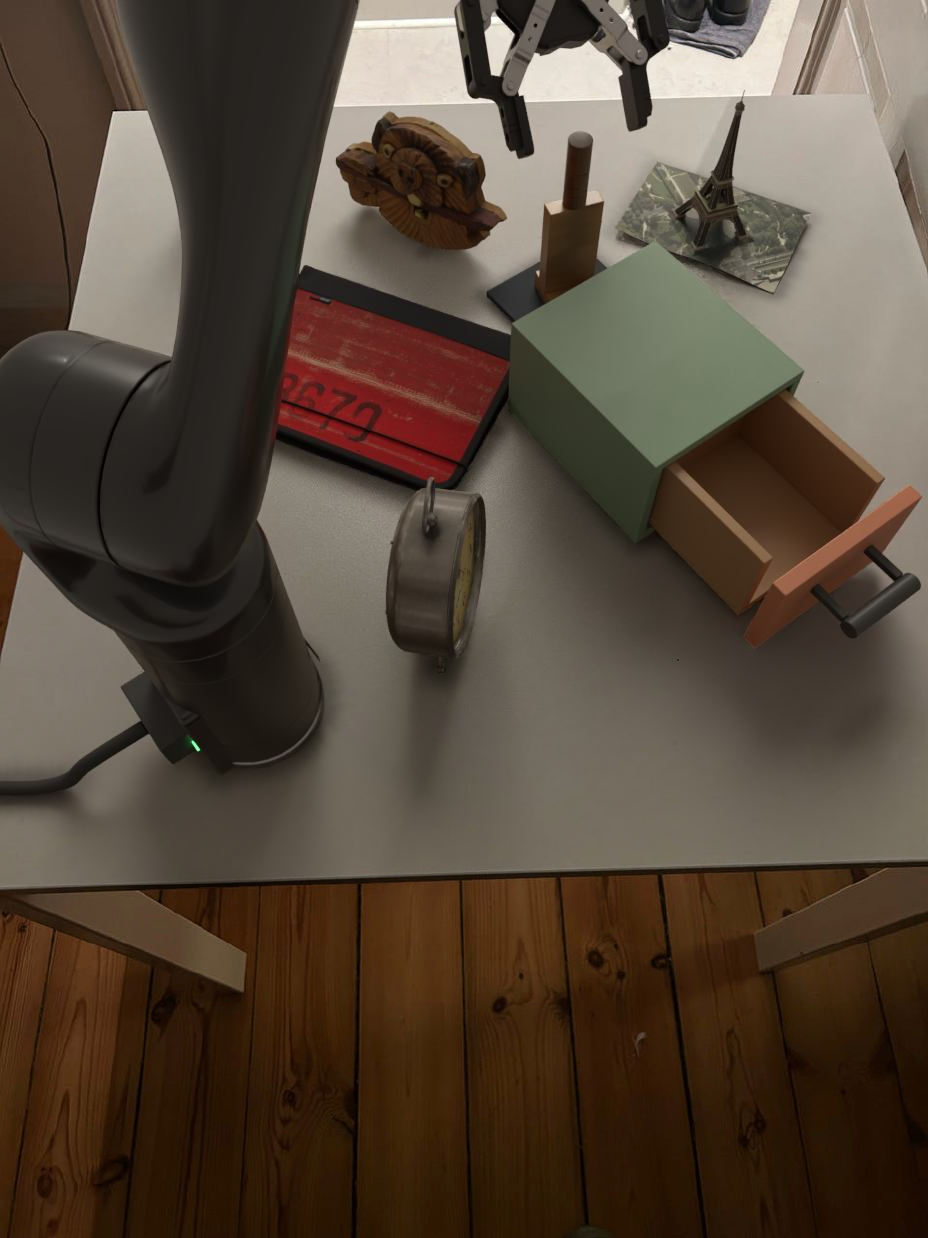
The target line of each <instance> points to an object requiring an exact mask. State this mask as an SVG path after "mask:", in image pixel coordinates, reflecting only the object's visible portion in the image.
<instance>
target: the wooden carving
mask: <svg viewBox="0 0 928 1238" xmlns="http://www.w3.org/2000/svg"><path fill="white" fill-rule="evenodd" d="M335 165H336V167H337V168H338V169H339V173H340V176H341V178H342V180H343V181H344V182H345V183H346V184H347V187H348V191H349V195H350V198H351V199H352V201H354V202H355V203H357V204H359V205H361V206H363V207H372V208H378V212H379V215H380V216H381V217H382V218H383V219H384V220H385V221H386V222H387V223H388V224H389V225H390V226H391V227H392V228H394V229H395V230H397V231H398V232H400V233H401V234H403V235H404V236H405V237H407V238H408V239H410V240H413V241H414V242H417V243H419V244H422V245H424V246H427V247H431V248H435V249H436V250H444V251H463V250H470V249H473V248H476V247H477V246H478V245H480V243H482V242H483V241H485V240H486V239H487V238H488V237H490V236H491V231H492V230H493V229H494V228H495V227H496V226H497V225H498V224H499V223H503V222H505V221H506V220H507V219H508V217H507V214H506V212H505V211H504V210H503V208H502V207H501V206H498V204H497V205H496V204H494V203H492V202H489V201H487V200H486V198H485V194H484V191H483V188H482V187H483V183H484V182H485V180H486V176H487V173H486V172H487V171H486V167H485V162H484V159H483V157H482V155H481V154H480V153H477V152H472V150H470V148H469V147H468V146H467V145H466V144H465V143H464V142H463V141H462V140H461V139H460V138H458V137H457V136H456V135H455V134H452V133H451V132H450V131H449V130H447V128H445V127H444V126H443V125H441V124H439V123H437V122H435V121H432V120H429V119H426V118H424V117H422V116H421V117H420V116H401V117H399V116H398V115H397V114H396V113H395V112H393V111H390V110H389V111H387V112H386V113H385V114H383V115H382V117H381V118H380V119H378V120H377V121H376V123H375V125H374V130H373V131H372V135H371V141H361V142H358V143H357V142H356V143H355V142H354V143H351V144H350V145H349V146H347V148H346V149H345V150H344V151H343V152H341V153H340V154H339V155H337V156H336V157H335Z"/></svg>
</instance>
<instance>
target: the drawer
mask: <svg viewBox="0 0 928 1238" xmlns="http://www.w3.org/2000/svg"><path fill="white" fill-rule="evenodd" d="M885 479H886V477H885V476H884V475H882V473H881V472H879V470H877V468H875V467H874V466H873V465H871V464H870V463H869V462H868V461H867V460H866V459H865V458H864V457H863V456H862V455H860V454H859V453H858V452H857V451H856V450H855V449H853V447H851V446H850V445H849V444H848V443H847V442H846V441H844V439H843V438H842V437H840V436H839V435H838V434H837V433H836V432H835V431H833V430H832V429H831V428H830V427H829V426H828V425H826V423H824V422H823V421H822V420H821V419H820V418H819V417H817V416H816V415H815V414H814V413H813V412H812V411H811V410H810V409H809V408H808V407H806V405H804V404H803V403H802V402H800V401H799V399H798V398H796V397H795V395H794V396H793V395H792V394H790V393H789V392H788V391H787V390H786V389H784V390H782V391H781V392H779V393H778V394H776V395H775V396H773V397H772V398H770V399H769V400H767V401H766V402H764V403H763V404H761V405H759V406H758V407H756V408H755V409H753V410H752V411H750V412H749V413H747V414H746V415H744V416H743V417H741V418H740V419H738V420H737V421H735V422H733V423H732V424H730V425H729V426H727V427H726V428H724V429H723V430H721V431H720V432H718V433H717V434H715V435H714V436H712V437H711V438H709V439H708V440H706V441H704V442H703V443H701V444H700V445H698V446H697V447H695V448H694V449H692V450H691V451H689V452H688V453H686V454H685V455H683V456H682V457H680V458H678V459H677V460H675V461H674V462H672V463H671V464H669V465H668V466H666V467H665V468H663V469H662V473H661V477H660V480H659V484H658V487H657V491H656V494H655V498H654V501H653V505H652V509H651V512H650V516H649V519H648V523H649V524H650V525H651V526H652V527H653V528H654V529H655V530H654V531H656V532H657V533H658V534H659V535H660V536H661V537H662V539H664V541H665V542H667V544H668V545H669V546H670V547H671V548H672V549H673V550H674V551H675V552H676V553H677V554H678V555H679V556H680V557H681V558H682V559H683V560H684V561H685V562H686V563H687V564H688V565H689V567H691V569H693V570H694V572H695V573H696V574H697V575H698V576H699V577H700V578H701V579H702V580H703V581H704V583H706V584H707V585H708V586H709V587H710V588H711V590H713V591H714V592H715V594H717V596H718V597H720V598H721V599H722V600H723V602H725V604H727V606H728V607H729V608H730V609H731V610H732V611H733V612H734V613H735V614H736V615H737V616H740V615H741V614H743V613H744V612H746V610H748V609H749V608H751V607H752V606H754V605H755V604H756V603H758V602H759V601H760V600H762V601H761V603H760V605H759V607H758V609H757V611H756V612H755V615H754V616H753V618H752V619H751V622H750V623H749V625H748V628H747V629H746V631H745V633H744V634H743V638H744V640H746V642H747V643H749V644H750V646H751V647H752V648H754V649H757V648H758V647H760V646H761V645H762V644H764V643H765V642H766V641H768V640H769V639H770V638H772V637H773V636H775V635H776V634H777V633H779V632H780V631H781V630H783V629H784V628H785V627H786V626H788V625H789V624H791V623H792V622H793V621H795V620H796V619H798V618H799V617H800V616H802V615H803V614H804V613H805V612H807V611H808V610H809V609H811V608H812V607H814V606H815V605H817V604H818V603H820V604H821V605H822V606H823V607H824V608H825V609H827V611H828V612H829V613H830V614H832V615H833V617H835V618H836V620H838V621H839V622H840V623H839V628H840V630H841V632H842V633H843V634H844V635H845V636H846V637H847V638H848V639H851V640H855V639H857V638H858V637H860V636H861V635H863V634H864V633H865V632H866V631H868V630H869V629H870V628H872V627H873V626H874V625H876V624H877V623H878V622H879V621H881V620H882V619H883V618H885V617H886V616H887V615H889V614H890V613H891V612H893V611H894V610H895V609H896V608H898V607H899V606H900V605H902V604H903V603H905V602H906V601H907V600H908V599H909V598H911V597H912V596H914V595H915V594H916V593H917V592H919V591H920V590H921V589H922V583H921V581H920V579H919V578H918V577H917V576H916V575H915V574H914V573H911V572H905V573H904V572H903V571H902V570H901V569H900V568H899V567H897V566H896V565H895V564H894V563H893V562H892V561H891V560H890V559H889V558H888V557H887V556H886V555H885V554H884V551H885V550H886V549H887V547H888V546H889V544H890V543H891V542H892V541H893V539H894V538H895V536H896V535H897V533H898V532H899V530H900V529H901V528H902V526H903V525H904V524H905V522H906V521H907V520H908V518H909V516H910V515H911V513H912V512H914V510H915V508H916V507H917V505H918V504H919V502H920V501H921V500H922V499H923V495H922V494H920V492H918V491H917V490H916V489H915V488H914V487H913V486H912V485H910V484H908V485H907V486H905V487H903V488H902V489H901V490H899V491H898V492H896V494H895V493H894V495H893V496H891V497H890V498H888V499H886V501H884V502H883V503H881V504H880V505H879V506H877V507H875V508H874V509H873V510H871V511H870V512H868V513H867V514H866V515H865V516H864V517H862V516H863V514H864V512H865V511H866V510H867V508H868V506H869V505H870V504H871V502H872V500H873V499H874V497H875V495H876V493H878V491H879V489H880V487H881V486H882V484H883V483H884V481H885ZM872 563H874V564H875V565H876V566H877V567H878V568H879V569H880V570H881V571H882V572H883V573H884V574H886V576H888V577H889V578H890V579H891V580H892V581H893V582H891V583H890V584H889V585H887V586H886V587H885V588H884V589H882V590H881V591H880V592H878V593H876V595H874V596H873V597H871V598H870V599H869V600H868V601H865V603H863V604H862V605H861V606H860V607H858V608H857V609H856V610H854V611H853V612H851V613H850V612H848V610H846V609H845V607H843V606H842V604H840V603H839V602H838V601H837V600H836V598H834V597H833V596H832V594H831V593H832V592H834V591H835V590H837V589H838V588H840V587H841V586H842V585H844V584H845V583H846V582H847V581H849V580H850V579H851V578H853V577H854V576H856V575H857V574H858V573H860V572H861V571H863V570H864V569H865V568H866V567H868V566H869V565H871V564H872Z"/></svg>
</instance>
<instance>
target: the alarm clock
mask: <svg viewBox="0 0 928 1238" xmlns="http://www.w3.org/2000/svg"><path fill="white" fill-rule="evenodd" d="M486 540H487V512H486V503H485V500H484V498H483V496H482V495H481V494H480V493H479V492H467V491H460V490H454V489H453V490H445V489H437V488H435V479H434V477H430V478H429V479H428V482H427V487H426V488H423V489H421V490H419V491H416V492H414V493H413V494H412V496H410V497H409V499H408V500H407V502H406V503H405V504H404V507H403V509H402V510H401V513H400V515H399V518H398V521H397V524H396V528H395V532H394V534H393V539H392V540H391V541H390V546H391V547H390V553H389V559H388V567H387V575H386V585H385V586H386V587H385V615H386V623H387V624H386V625H387V628H388V633H389V635H390V637H391V639H392V641H393V643H394V644H395V645H396V647H398V648H399V649H400V650H401V651H403V652H406V653H411V654H418V655H423V656H424V655H425V656H430V657H436V661H437V664H438V665H437V666H436V667H435V670H436V672H437V674H444V673H445V672H446V667H445V664H446V661H447V659H450V660H457V659H459V658H460V657H461V656H462V655H463V653H464V652H465V650H466V647H467V645H468V643H469V639H470V637H471V634H472V630H473V626H474V623H475V618H476V613H477V608H478V604H479V599H480V594H481V587H482V586H481V584H482V580H483V570H484V561H485V554H486V543H487V541H486Z"/></svg>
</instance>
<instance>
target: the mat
mask: <svg viewBox="0 0 928 1238" xmlns="http://www.w3.org/2000/svg"><path fill="white" fill-rule="evenodd" d="M607 268H608V266H606V265H605V264H604V263H603V262H602V261H601V260H599V258H597V259H596V266H595V274H594V276H595V275H597V274H599V273H600V272H602V271H604V270H605V269H607ZM539 270H540V261H538V262H536V263H535V264H533V265H531V266H529V267H527V268H526V269H524V270H522V271H520V272H518V273H517V274H515V275H513V276H511V277H510V278H508V279H506V280H504V281H503V282H501V283H499V284H497V285H495V286H493V287H492V288H490V289H488V290H487V291H486V292H485V297H486V298H487V299H488V300H489V301H490V302H491V303H492V304H493V306H495V307H496V308H497V309H498V310H499V311H500V312H501V313H502V314H503V315H504V316H505V317H506V318H507V319H508V320H509V321H510V322H511V324H512V323H513V322H515V321H517V320H519V319H520V318H522V317H524V316H526V315H527V314H529V313H531V312H532V311H534V310H536V309H538V308H539V307H541V306H543V305H544V303H543V301H542V299H541V297H540V295H539V293H538V291H537V289H536V287H535V285H534V284H535V272H536V271H539Z"/></svg>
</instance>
